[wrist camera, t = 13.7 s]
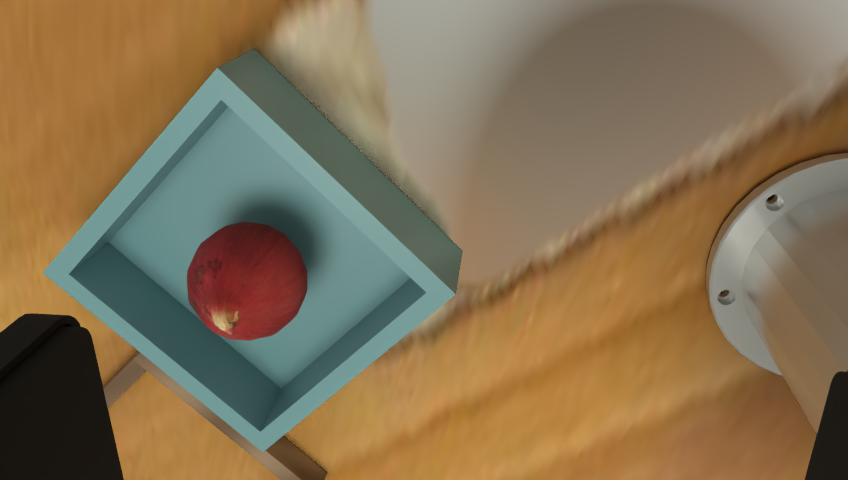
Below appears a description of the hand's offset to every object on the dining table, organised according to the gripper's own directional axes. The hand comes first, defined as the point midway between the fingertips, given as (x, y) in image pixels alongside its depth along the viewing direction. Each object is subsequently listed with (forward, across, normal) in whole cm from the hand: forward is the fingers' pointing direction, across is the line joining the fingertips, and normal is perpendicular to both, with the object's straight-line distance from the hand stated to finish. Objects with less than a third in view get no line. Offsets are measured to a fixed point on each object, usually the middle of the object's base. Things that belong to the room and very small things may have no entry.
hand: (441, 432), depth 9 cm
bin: (+28, +12, +10) cm, 32 cm away
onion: (+28, +12, +10) cm, 32 cm away
